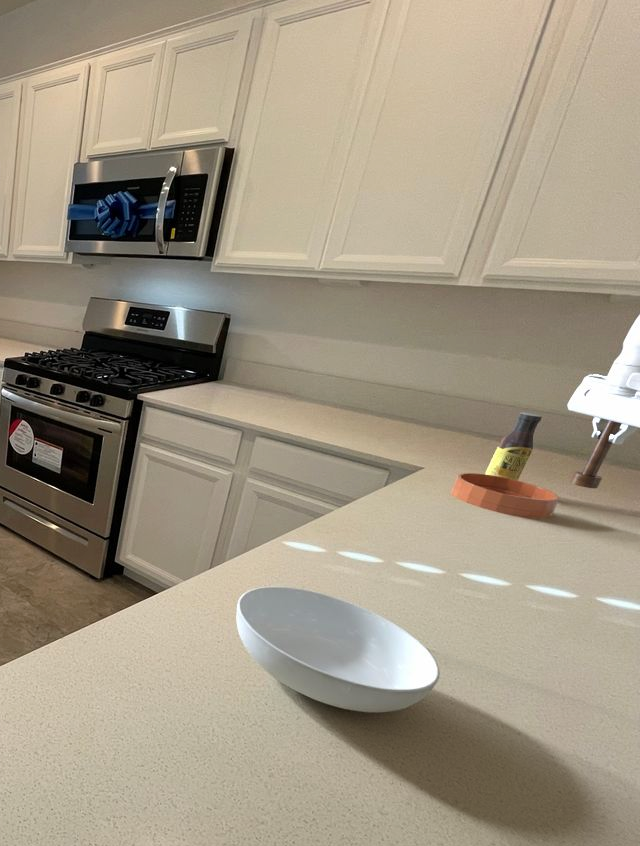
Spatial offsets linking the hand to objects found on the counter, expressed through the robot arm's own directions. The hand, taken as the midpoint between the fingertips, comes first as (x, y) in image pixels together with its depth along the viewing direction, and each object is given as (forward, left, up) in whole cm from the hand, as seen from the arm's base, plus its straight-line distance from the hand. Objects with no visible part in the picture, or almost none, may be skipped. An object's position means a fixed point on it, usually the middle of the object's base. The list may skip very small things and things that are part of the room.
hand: (606, 441), depth 130 cm
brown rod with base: (0, 0, -11) cm, 11 cm away
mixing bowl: (+14, +11, -18) cm, 25 cm away
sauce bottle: (+12, -11, -18) cm, 24 cm away
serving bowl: (+40, +114, -18) cm, 122 cm away
